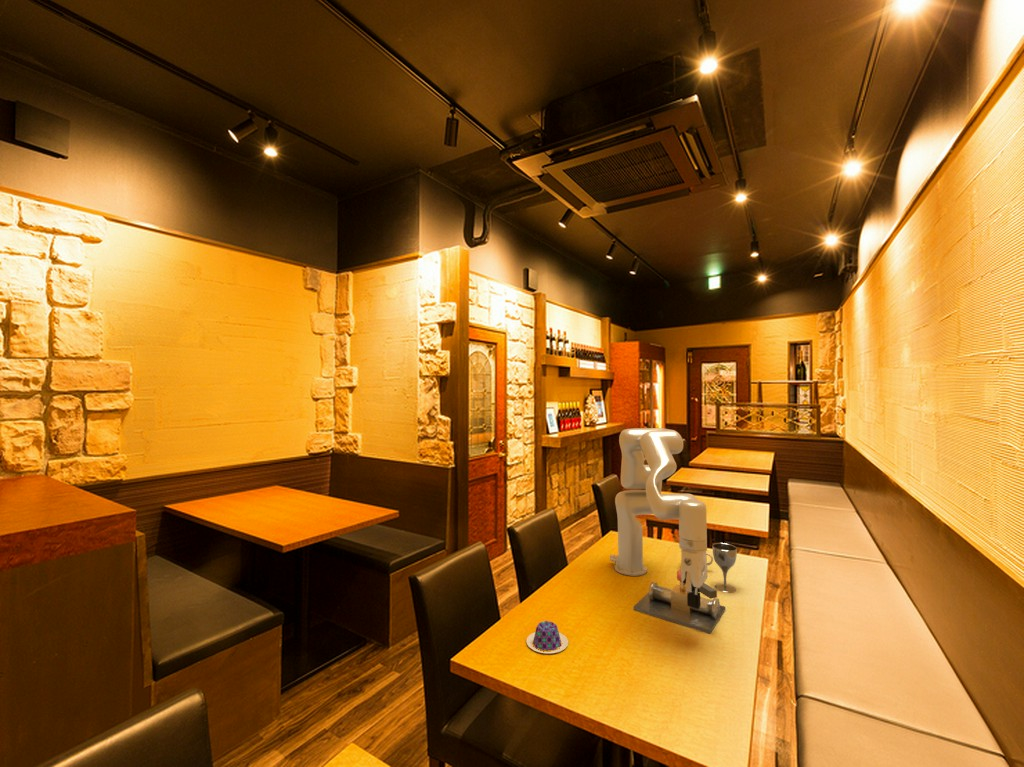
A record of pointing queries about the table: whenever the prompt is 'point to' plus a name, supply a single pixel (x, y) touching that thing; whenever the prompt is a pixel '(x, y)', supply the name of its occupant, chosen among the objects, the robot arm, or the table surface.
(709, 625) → the valve
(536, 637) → the pudding
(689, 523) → the robot arm
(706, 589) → the lever
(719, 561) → the wine glass
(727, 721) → the table surface
